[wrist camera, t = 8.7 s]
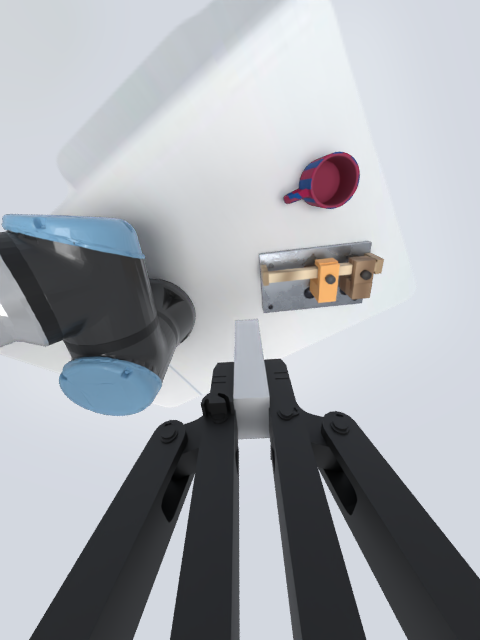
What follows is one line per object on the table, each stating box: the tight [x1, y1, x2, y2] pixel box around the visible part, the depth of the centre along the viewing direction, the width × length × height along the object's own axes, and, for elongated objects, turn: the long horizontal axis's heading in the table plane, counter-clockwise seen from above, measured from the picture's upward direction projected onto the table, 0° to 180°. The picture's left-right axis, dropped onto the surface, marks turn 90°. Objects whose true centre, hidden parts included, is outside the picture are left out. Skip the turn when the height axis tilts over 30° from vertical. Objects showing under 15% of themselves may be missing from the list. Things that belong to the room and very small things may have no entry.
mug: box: [284, 152, 360, 209], centre depth 35 cm, size 7×10×7 cm
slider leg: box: [310, 258, 340, 303], centre depth 41 cm, size 3×8×7 cm, turn 6°
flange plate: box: [259, 241, 372, 313], centre depth 45 cm, size 20×12×1 cm, turn 97°
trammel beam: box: [260, 253, 384, 299], centre depth 41 cm, size 20×8×7 cm, turn 96°
